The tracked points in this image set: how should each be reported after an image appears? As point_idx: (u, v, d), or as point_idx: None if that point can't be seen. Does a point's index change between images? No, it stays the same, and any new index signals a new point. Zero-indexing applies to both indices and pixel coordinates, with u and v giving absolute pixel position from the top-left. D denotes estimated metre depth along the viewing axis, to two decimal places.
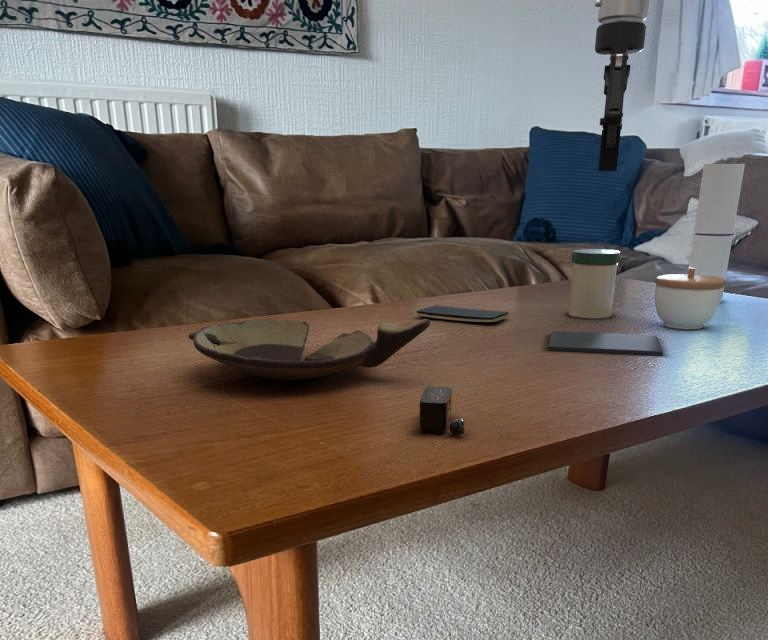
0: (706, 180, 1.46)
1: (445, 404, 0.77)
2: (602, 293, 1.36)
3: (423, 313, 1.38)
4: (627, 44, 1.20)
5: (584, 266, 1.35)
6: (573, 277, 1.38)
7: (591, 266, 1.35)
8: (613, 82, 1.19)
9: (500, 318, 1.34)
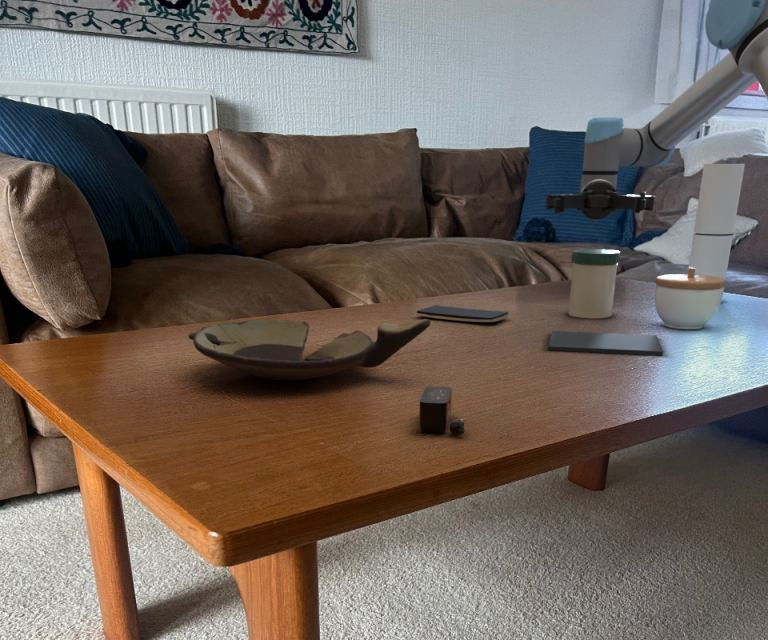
0: (706, 180, 1.46)
1: (445, 404, 0.77)
2: (602, 293, 1.36)
3: (423, 313, 1.38)
4: None
5: (584, 266, 1.35)
6: (573, 277, 1.38)
7: (591, 266, 1.35)
8: None
9: (500, 318, 1.34)
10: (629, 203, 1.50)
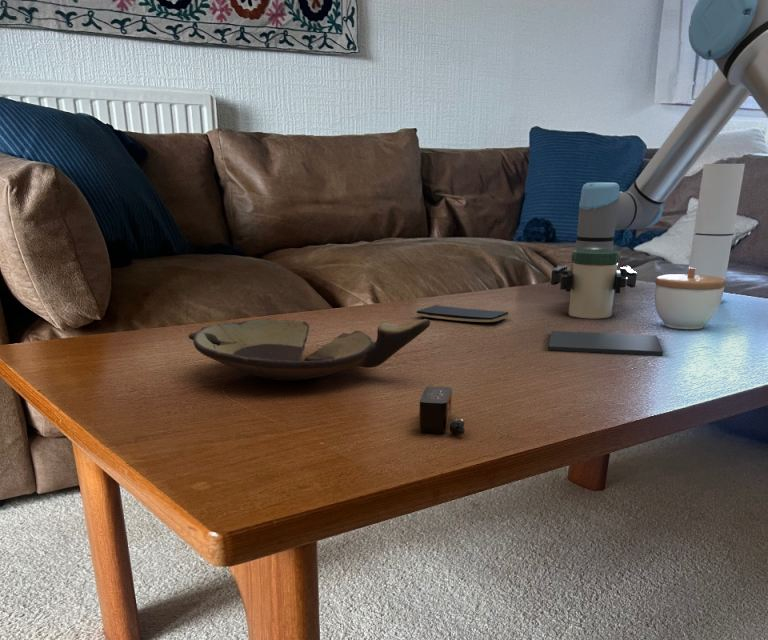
0: (706, 180, 1.46)
1: (445, 404, 0.77)
2: (602, 293, 1.36)
3: (423, 313, 1.38)
4: None
5: (584, 266, 1.35)
6: (573, 277, 1.38)
7: (591, 266, 1.35)
8: None
9: (500, 318, 1.34)
10: None
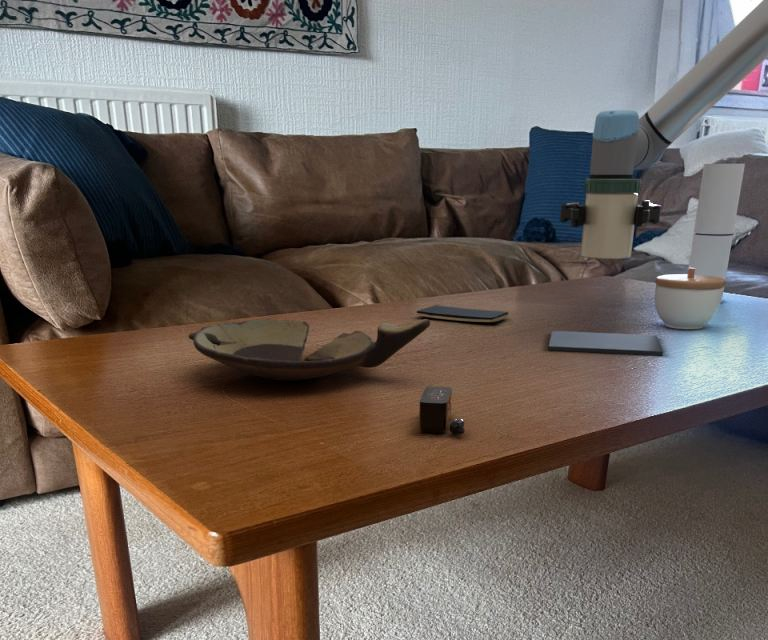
0: (706, 180, 1.46)
1: (445, 404, 0.77)
2: (620, 228, 1.16)
3: (423, 313, 1.38)
4: None
5: (599, 195, 1.15)
6: (586, 210, 1.18)
7: (607, 195, 1.14)
8: None
9: (500, 318, 1.34)
10: None
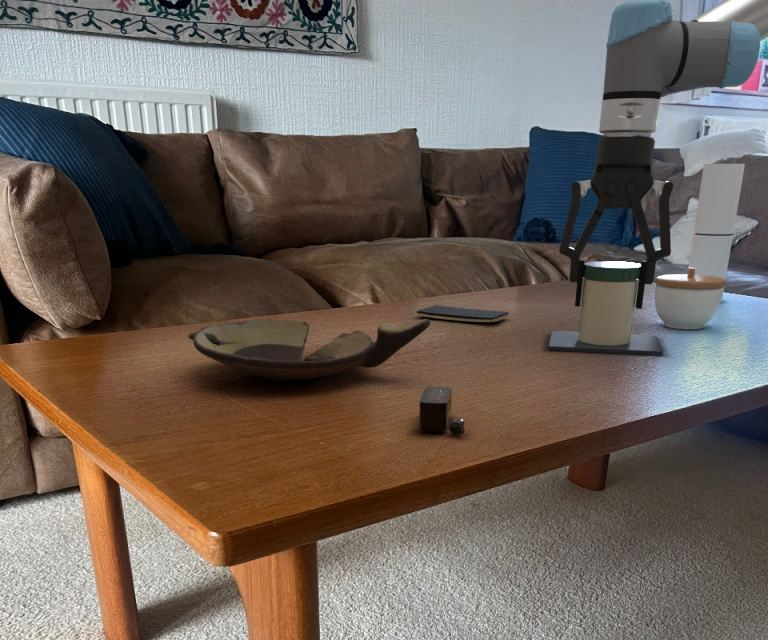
0: (706, 180, 1.46)
1: (445, 404, 0.77)
2: (620, 316, 1.13)
3: (423, 313, 1.38)
4: None
5: (598, 283, 1.11)
6: (584, 295, 1.14)
7: (606, 283, 1.11)
8: None
9: (500, 318, 1.34)
10: None
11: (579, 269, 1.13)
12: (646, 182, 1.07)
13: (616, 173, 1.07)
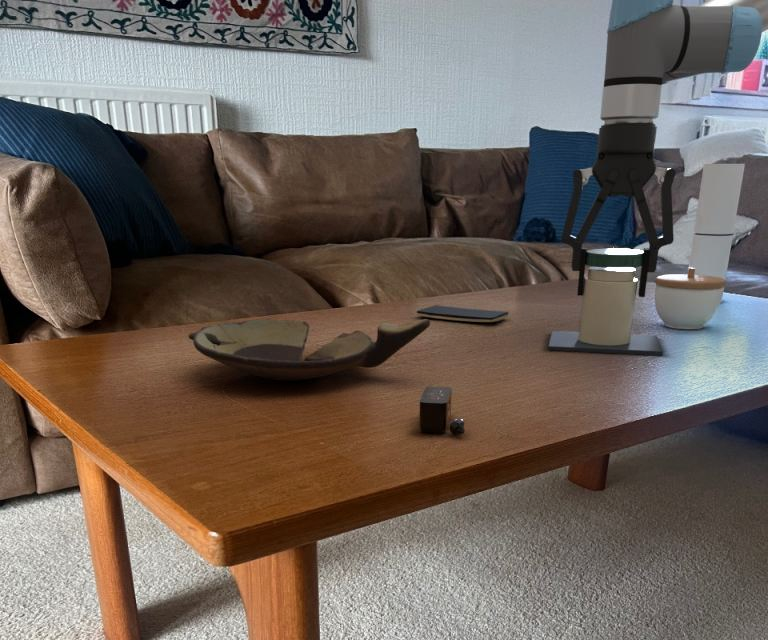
0: (706, 180, 1.46)
1: (445, 404, 0.77)
2: (620, 316, 1.12)
3: (423, 313, 1.38)
4: (598, 149, 1.07)
5: (598, 283, 1.11)
6: (584, 295, 1.14)
7: (606, 283, 1.11)
8: None
9: (500, 318, 1.34)
10: (644, 228, 1.10)
11: None
12: None
13: None
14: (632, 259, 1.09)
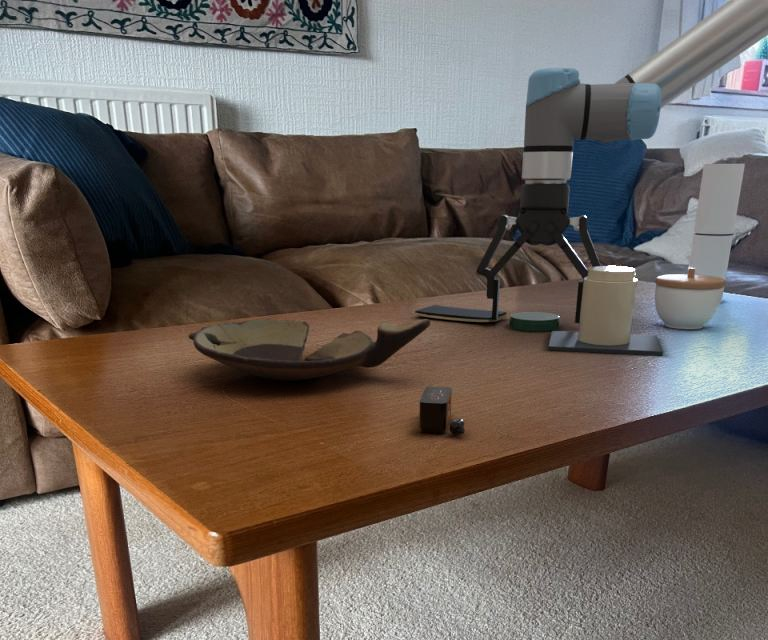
0: (706, 180, 1.46)
1: (445, 404, 0.77)
2: (619, 316, 1.13)
3: (421, 313, 1.38)
4: (520, 205, 1.23)
5: (597, 283, 1.11)
6: (584, 296, 1.14)
7: (606, 283, 1.11)
8: None
9: (498, 318, 1.34)
10: None
11: None
12: None
13: None
14: (548, 324, 1.27)
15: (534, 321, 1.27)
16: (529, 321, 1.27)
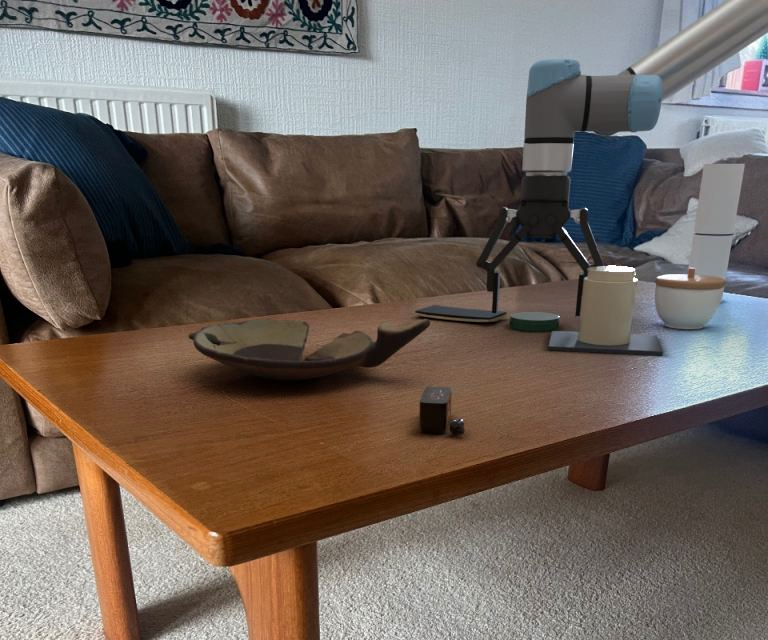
0: (706, 180, 1.46)
1: (445, 404, 0.77)
2: (619, 316, 1.13)
3: (421, 313, 1.38)
4: (521, 197, 1.22)
5: (597, 283, 1.11)
6: (584, 296, 1.14)
7: (606, 283, 1.11)
8: None
9: (498, 318, 1.34)
10: None
11: None
12: None
13: None
14: (548, 324, 1.27)
15: (534, 321, 1.27)
16: (529, 321, 1.27)
